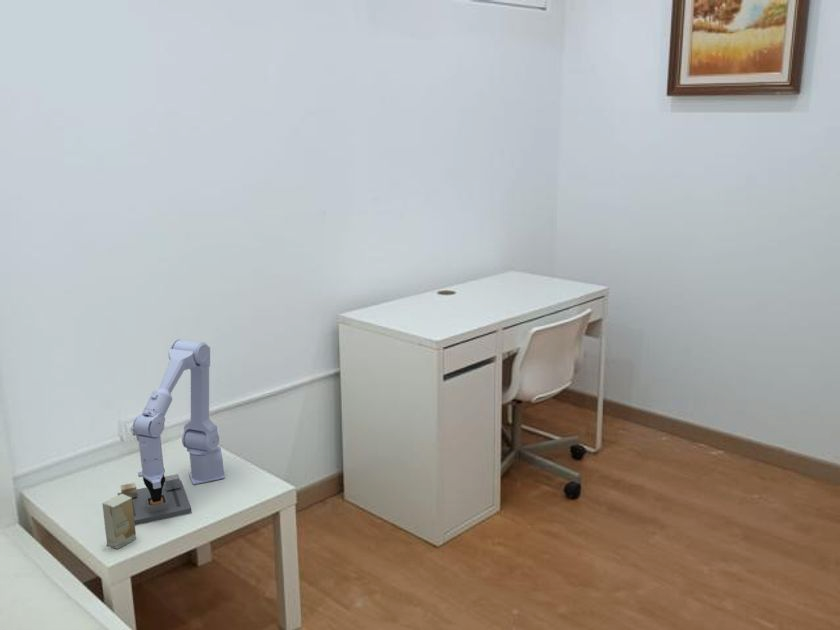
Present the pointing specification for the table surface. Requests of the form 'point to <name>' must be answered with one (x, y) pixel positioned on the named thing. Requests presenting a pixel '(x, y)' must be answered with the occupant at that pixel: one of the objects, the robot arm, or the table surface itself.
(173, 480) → the steel slider
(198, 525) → the table surface
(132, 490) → the birch slider
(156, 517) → the control panel
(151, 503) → the push button
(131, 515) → the skincare box
